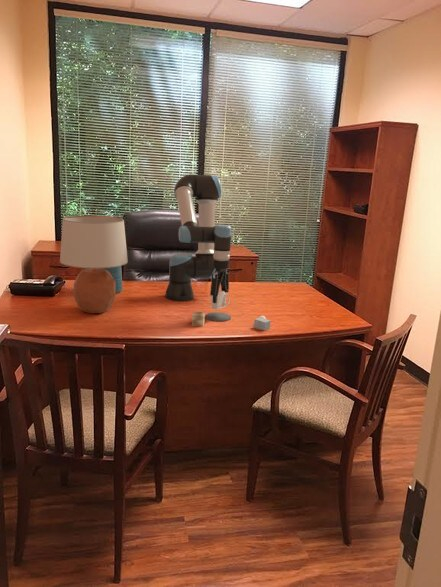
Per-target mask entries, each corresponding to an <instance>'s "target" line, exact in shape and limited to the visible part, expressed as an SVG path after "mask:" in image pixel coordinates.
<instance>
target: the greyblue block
mask: <svg viewBox="0 0 441 587" xmlns="http://www.w3.org/2000/svg"><path fill="white" fill-rule="evenodd" d="M271 323H272V322H271V319H267V318H266V319H264V318H259V317H257V318H254V322H253V328H254V329H259V330H261V331H264V332H265V331H269V330H270V329H271Z"/></svg>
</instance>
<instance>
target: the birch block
mask: <svg viewBox="0 0 441 587" xmlns="http://www.w3.org/2000/svg"><path fill="white" fill-rule="evenodd" d="M205 318H206V312H204V311H201V312H200V311H193V312H192V315H191V326H194V327H203V326H205V322H206V321H205V320H206V319H205Z"/></svg>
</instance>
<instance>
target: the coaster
mask: <svg viewBox="0 0 441 587" xmlns="http://www.w3.org/2000/svg"><path fill="white" fill-rule="evenodd" d="M205 318H206V319H207V320H209V321H212V322H228V321H231V319H232V316H231V314H228V313H226V312H216V311H215V312H209V313H205Z"/></svg>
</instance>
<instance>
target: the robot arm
mask: <svg viewBox="0 0 441 587" xmlns="http://www.w3.org/2000/svg"><path fill="white" fill-rule="evenodd" d="M173 194H174V198H175V200H176V201H177V207H178V212H179V216H180V222H181V223H180V224H181V225H180V226H179V227H178V241H179V242H180V243H187V244H189V243H190V244H191V243H193V244H197V245H198V246H197V248H198V249H197V251H196V252H195V254H194V256H193V254H192V253H189V252H182V253H181V252H180V253H176V254H173V255H171V256H170V257H169V263H168V264H169V265H168V266H169V274H168V275H169V276H168V284H167V286H166V287H167V288H166V290H165V294H164V295H165V299H167V300H170V301H176V302H177V301H178V302H184V301H185V302H186V301H191V300H193V299H194V296H195V293H194V290H193V289H194V288H193V287H192V279H207V280H209V279H211V285H210V291H211V292H210V291H209V292H210V294H209V295H210V296H211V295H212V296H213V301H212V304H211V309H212V310H216V311H218V310H219V309H218V300H219V296H218V292H219V290H220V291H224V292H225V294H227V293H229V289H230V261H231V260H230V258H231V254H232V253H231V243H232V227H231V226H230V225H227V224H217V225H216V224H215V223H216V204H217V203H218V201H219V199H221V198H222V184H221V180H220V178H219V177H218V176H217V175H211V174H191V173H189V174H185V175H184V176H181V178H179V179H178V181H177V182H176V184H175V186H174V190H173ZM193 198H195V202H196V204H198V220H197V215H196V210H195V204H194V200H193ZM225 305H227V295H224V297H223V301H222V304H221V307H224V306H225Z"/></svg>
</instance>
